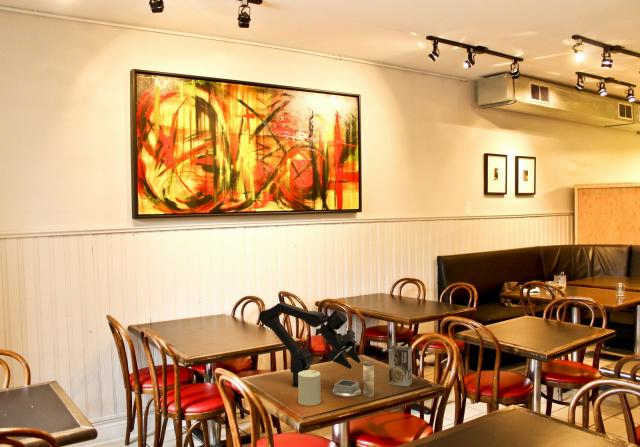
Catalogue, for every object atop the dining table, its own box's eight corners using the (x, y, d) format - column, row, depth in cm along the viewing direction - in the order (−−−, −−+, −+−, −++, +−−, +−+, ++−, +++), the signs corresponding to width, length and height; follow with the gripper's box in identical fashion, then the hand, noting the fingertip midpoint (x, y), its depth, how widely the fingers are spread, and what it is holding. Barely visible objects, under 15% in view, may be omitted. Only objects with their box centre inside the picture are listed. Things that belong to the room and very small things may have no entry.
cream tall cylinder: (361, 396, 226) (361, 362, 226) (365, 393, 230) (365, 360, 230) (371, 398, 224) (371, 364, 224) (375, 394, 228) (375, 361, 228)
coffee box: (412, 382, 244) (412, 346, 243) (408, 387, 238) (408, 350, 237) (392, 380, 247) (392, 344, 247) (388, 384, 242) (388, 348, 241)
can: (325, 401, 221) (325, 371, 221) (310, 407, 214) (309, 377, 214) (308, 396, 227) (308, 367, 227) (293, 402, 220) (293, 372, 220)
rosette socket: (327, 394, 229) (327, 385, 229) (339, 385, 240) (339, 377, 240) (354, 398, 224) (354, 389, 224) (365, 389, 234) (365, 381, 234)
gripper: (333, 329, 223) (359, 358, 219) (352, 320, 240) (376, 348, 235) (317, 346, 227) (341, 375, 222) (336, 336, 244) (359, 364, 239)
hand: (355, 365), depth 230 cm, fingers open, 9 cm apart
